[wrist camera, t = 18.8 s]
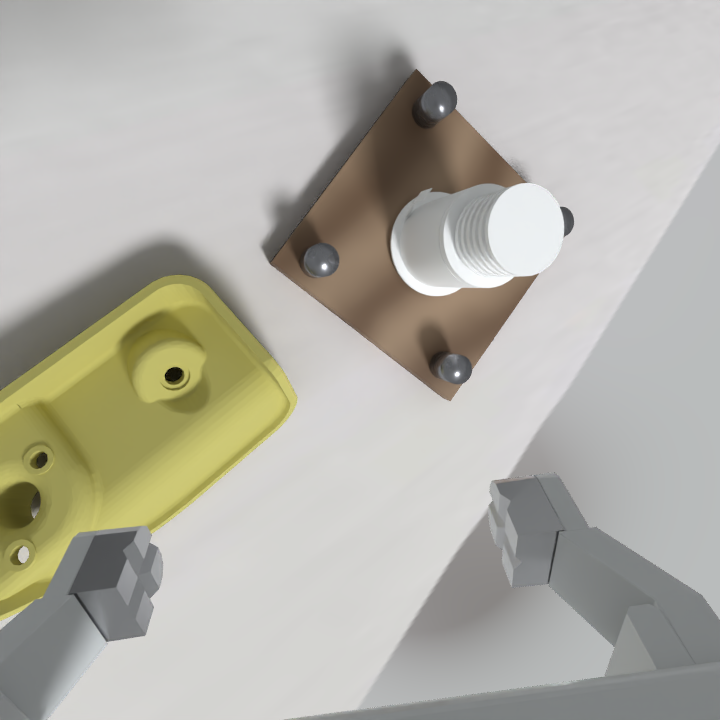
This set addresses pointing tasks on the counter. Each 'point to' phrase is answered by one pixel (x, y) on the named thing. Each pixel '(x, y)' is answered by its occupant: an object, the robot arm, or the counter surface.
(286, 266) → the pin board
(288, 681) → the counter surface
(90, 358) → the plastic component
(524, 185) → the recessed downlight
